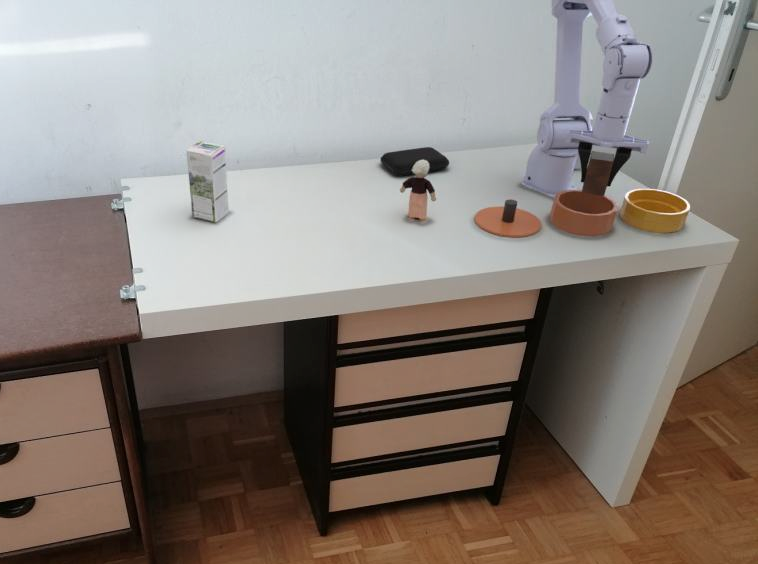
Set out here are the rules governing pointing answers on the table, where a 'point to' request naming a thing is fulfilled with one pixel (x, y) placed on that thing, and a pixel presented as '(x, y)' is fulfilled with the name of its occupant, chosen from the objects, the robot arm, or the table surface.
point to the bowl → (654, 210)
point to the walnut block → (598, 173)
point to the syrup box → (208, 181)
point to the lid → (507, 220)
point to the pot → (583, 223)
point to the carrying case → (413, 160)
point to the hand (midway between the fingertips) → (595, 182)
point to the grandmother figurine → (419, 191)
